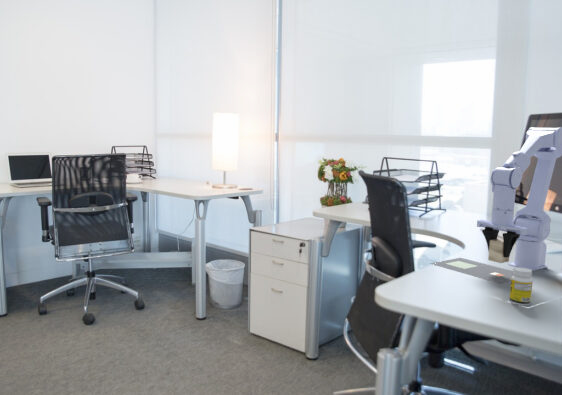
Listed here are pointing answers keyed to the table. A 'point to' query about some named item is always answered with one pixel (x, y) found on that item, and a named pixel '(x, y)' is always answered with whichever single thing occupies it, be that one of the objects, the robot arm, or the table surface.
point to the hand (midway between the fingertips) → (498, 255)
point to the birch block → (497, 251)
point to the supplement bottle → (521, 286)
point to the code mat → (477, 269)
